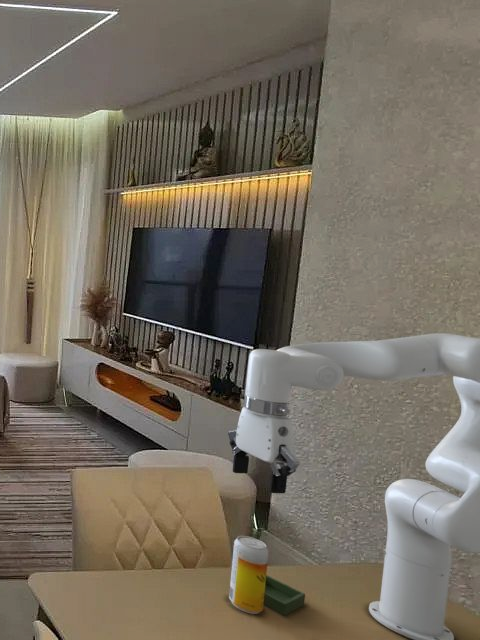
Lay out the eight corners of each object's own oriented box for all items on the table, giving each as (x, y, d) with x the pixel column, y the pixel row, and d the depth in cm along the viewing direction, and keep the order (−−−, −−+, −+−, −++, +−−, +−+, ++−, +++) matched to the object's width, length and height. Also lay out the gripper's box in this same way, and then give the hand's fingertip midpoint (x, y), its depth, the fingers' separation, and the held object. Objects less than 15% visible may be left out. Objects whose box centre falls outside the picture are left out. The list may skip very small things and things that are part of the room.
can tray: (259, 582, 129) (260, 572, 129) (304, 604, 121) (305, 593, 121) (239, 591, 125) (240, 581, 125) (284, 615, 117) (285, 604, 117)
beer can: (268, 617, 117) (275, 551, 116) (237, 612, 118) (243, 547, 117) (253, 599, 122) (259, 536, 121) (223, 595, 124) (229, 532, 123)
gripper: (319, 420, 108) (310, 501, 109) (249, 395, 126) (241, 466, 127) (284, 419, 108) (276, 501, 109) (218, 394, 125) (211, 465, 126)
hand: (257, 482), depth 118 cm, fingers open, 9 cm apart
